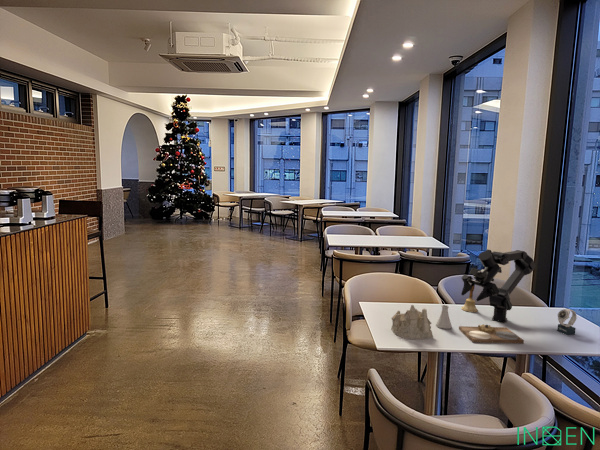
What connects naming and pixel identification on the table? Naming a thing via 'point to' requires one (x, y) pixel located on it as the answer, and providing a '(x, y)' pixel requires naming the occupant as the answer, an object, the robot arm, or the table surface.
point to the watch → (568, 327)
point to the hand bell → (470, 303)
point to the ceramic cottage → (412, 324)
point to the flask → (444, 319)
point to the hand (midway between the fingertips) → (469, 297)
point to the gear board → (490, 334)
